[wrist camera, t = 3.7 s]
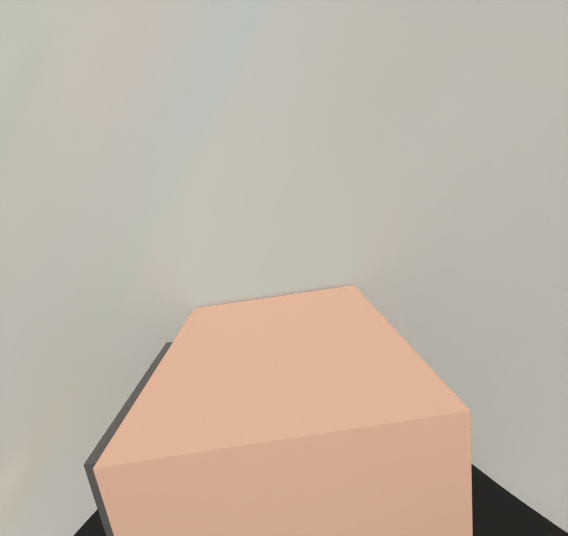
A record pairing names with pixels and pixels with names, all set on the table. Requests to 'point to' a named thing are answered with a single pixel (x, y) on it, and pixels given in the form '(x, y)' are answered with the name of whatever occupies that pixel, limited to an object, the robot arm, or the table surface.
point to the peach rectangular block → (287, 430)
